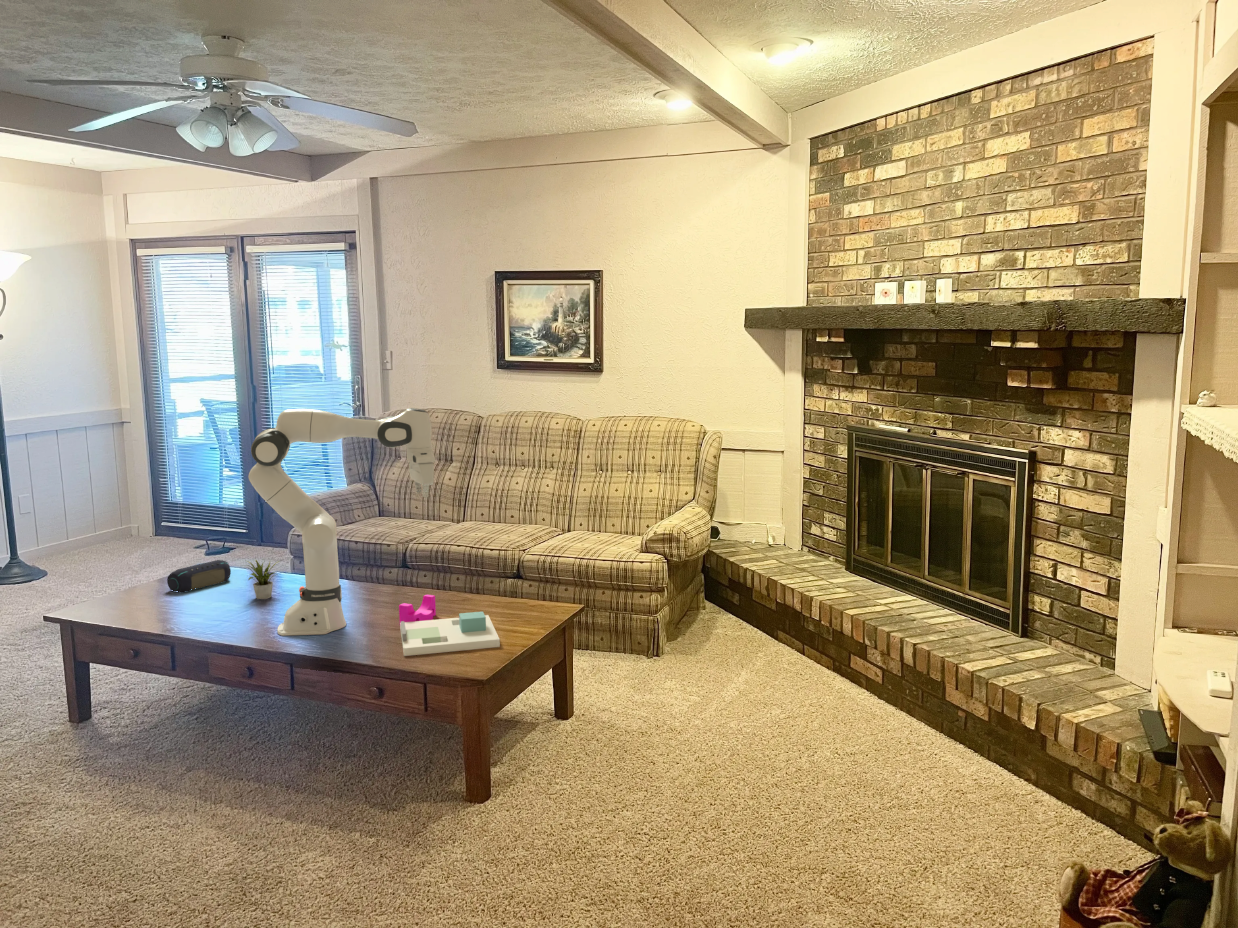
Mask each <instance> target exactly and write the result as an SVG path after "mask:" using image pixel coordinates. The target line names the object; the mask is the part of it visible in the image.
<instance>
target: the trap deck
mask: <svg viewBox="0 0 1238 928" xmlns="http://www.w3.org/2000/svg"><path fill="white" fill-rule="evenodd" d="M484 615H485V617H486V631H475V632H464V633H462V632H461V629H460V626H459V617H451V618H439V619H433V620H426V621H415V622H404V621H401V623H400V622H399V627H400V636H401V643H402V644H401V645H402V651H403V653H402V654H403V656H404V657H408V656H416V655H417V656H420V655H428V654H429V655H430V654H437V653H438V654H439V653H448V652H449V653H451V652H459V651H471V650H472V651H473V650H482V649H491V648H500V647H501V643H500V637H499V635H498V633H497V630H496V629H495V626H494V624H493V622H492V620H491V618H490V615H489V614H484Z"/></svg>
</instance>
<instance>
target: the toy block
mask: <svg viewBox="0 0 1238 928" xmlns="http://www.w3.org/2000/svg"><path fill="white" fill-rule="evenodd" d="M436 611H437V608H436V596H435V595H433V594H425V595H423V596H422V601H421V604H420V606H419V607H418V609H417V610H415V609H414V604H412V603H405V602H403V603H401V604H399V605H398V614H399V615H398V617H399V624H400V623H401V621H404V622H415V621H426V620H434V617H435V616H436V615H437V612H436Z"/></svg>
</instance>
